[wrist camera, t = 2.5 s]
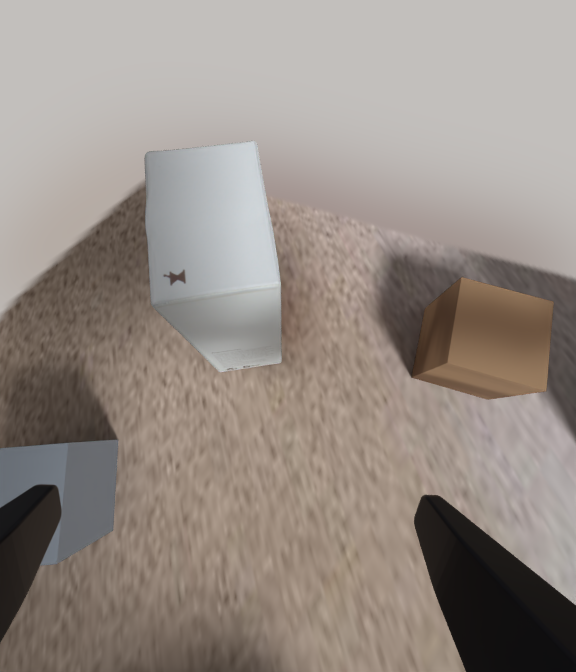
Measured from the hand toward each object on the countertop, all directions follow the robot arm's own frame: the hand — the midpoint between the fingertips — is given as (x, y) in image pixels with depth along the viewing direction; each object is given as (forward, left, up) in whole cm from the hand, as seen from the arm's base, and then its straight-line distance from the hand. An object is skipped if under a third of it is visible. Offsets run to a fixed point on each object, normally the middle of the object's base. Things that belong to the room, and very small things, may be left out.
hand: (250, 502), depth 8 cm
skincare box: (+4, +8, -13) cm, 15 cm away
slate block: (-10, +6, -13) cm, 17 cm away
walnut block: (+14, -2, -13) cm, 19 cm away
